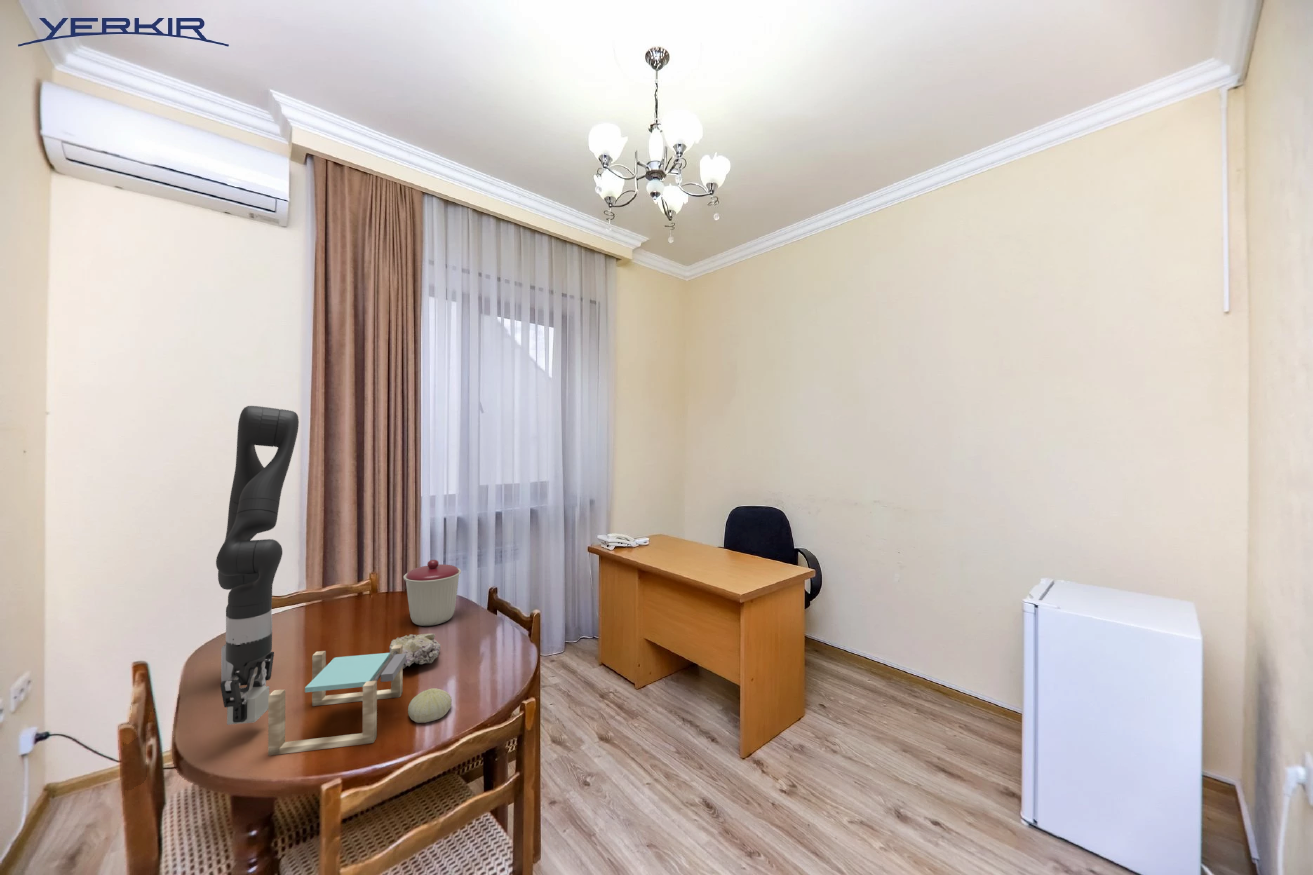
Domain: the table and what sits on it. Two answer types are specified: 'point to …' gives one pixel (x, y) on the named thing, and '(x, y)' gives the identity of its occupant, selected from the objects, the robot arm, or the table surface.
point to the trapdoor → (355, 671)
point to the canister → (432, 593)
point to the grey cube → (252, 705)
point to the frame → (319, 698)
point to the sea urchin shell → (429, 705)
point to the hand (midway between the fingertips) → (248, 712)
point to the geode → (418, 648)
